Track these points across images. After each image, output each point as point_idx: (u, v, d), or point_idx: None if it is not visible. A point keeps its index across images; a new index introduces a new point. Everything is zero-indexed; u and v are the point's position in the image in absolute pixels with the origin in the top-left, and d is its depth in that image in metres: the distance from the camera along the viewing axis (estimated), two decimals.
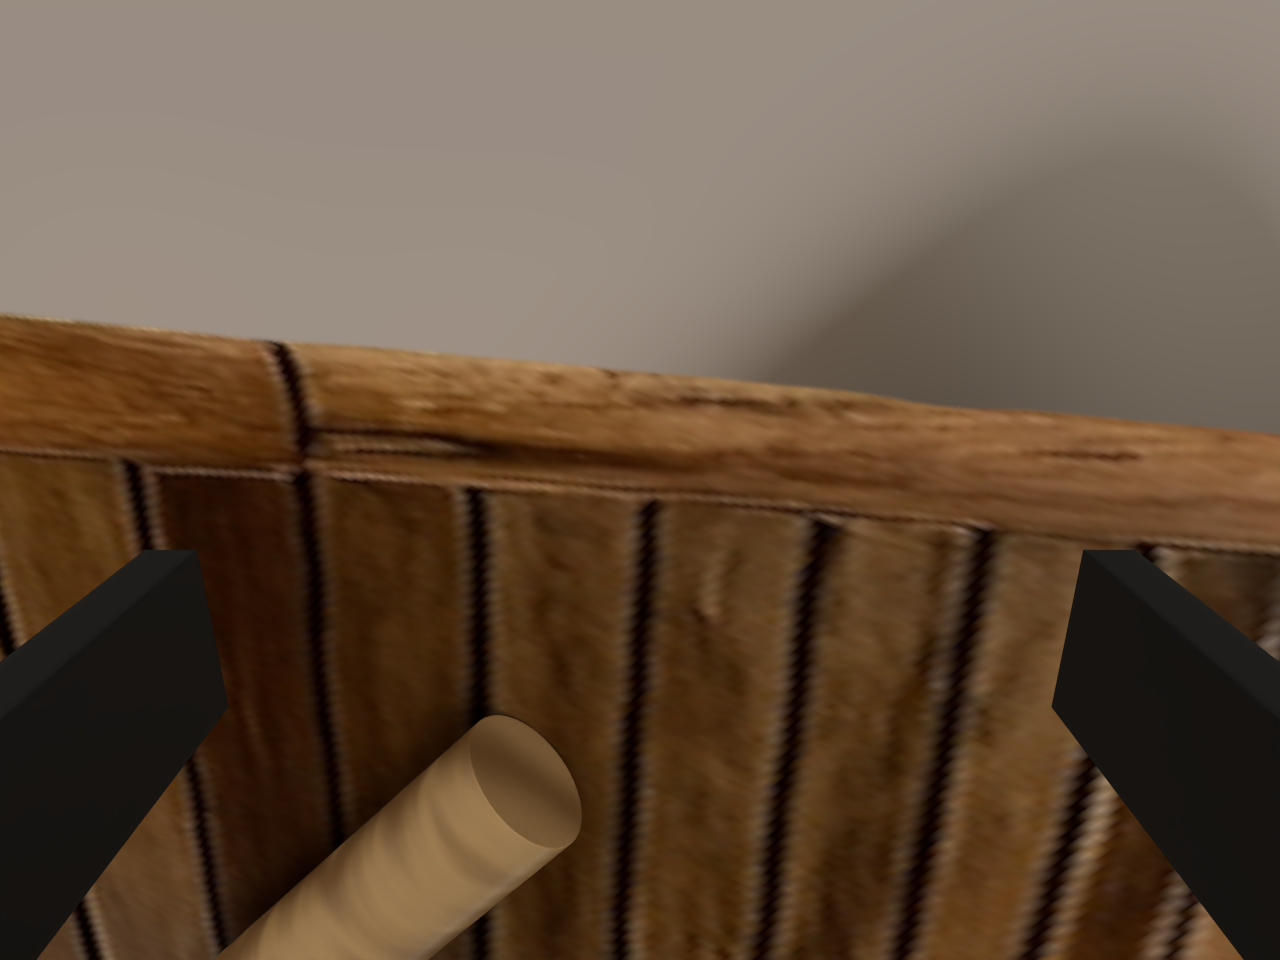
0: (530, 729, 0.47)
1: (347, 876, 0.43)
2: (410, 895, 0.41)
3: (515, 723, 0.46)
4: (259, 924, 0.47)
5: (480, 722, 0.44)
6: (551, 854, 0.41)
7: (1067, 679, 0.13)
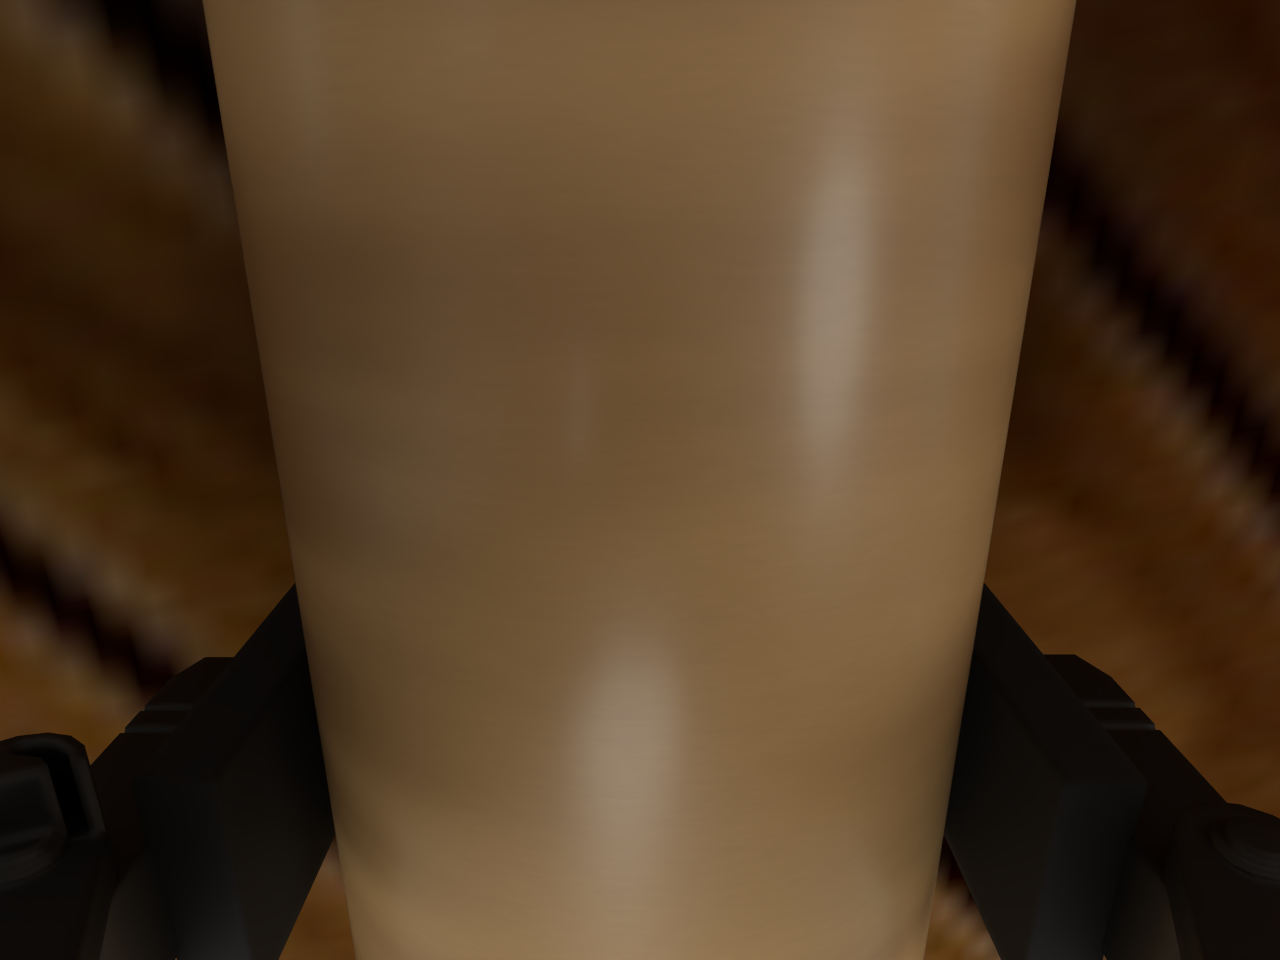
0: None
1: (1026, 289, 0.07)
2: (775, 709, 0.07)
3: None
4: None
5: None
6: None
7: None
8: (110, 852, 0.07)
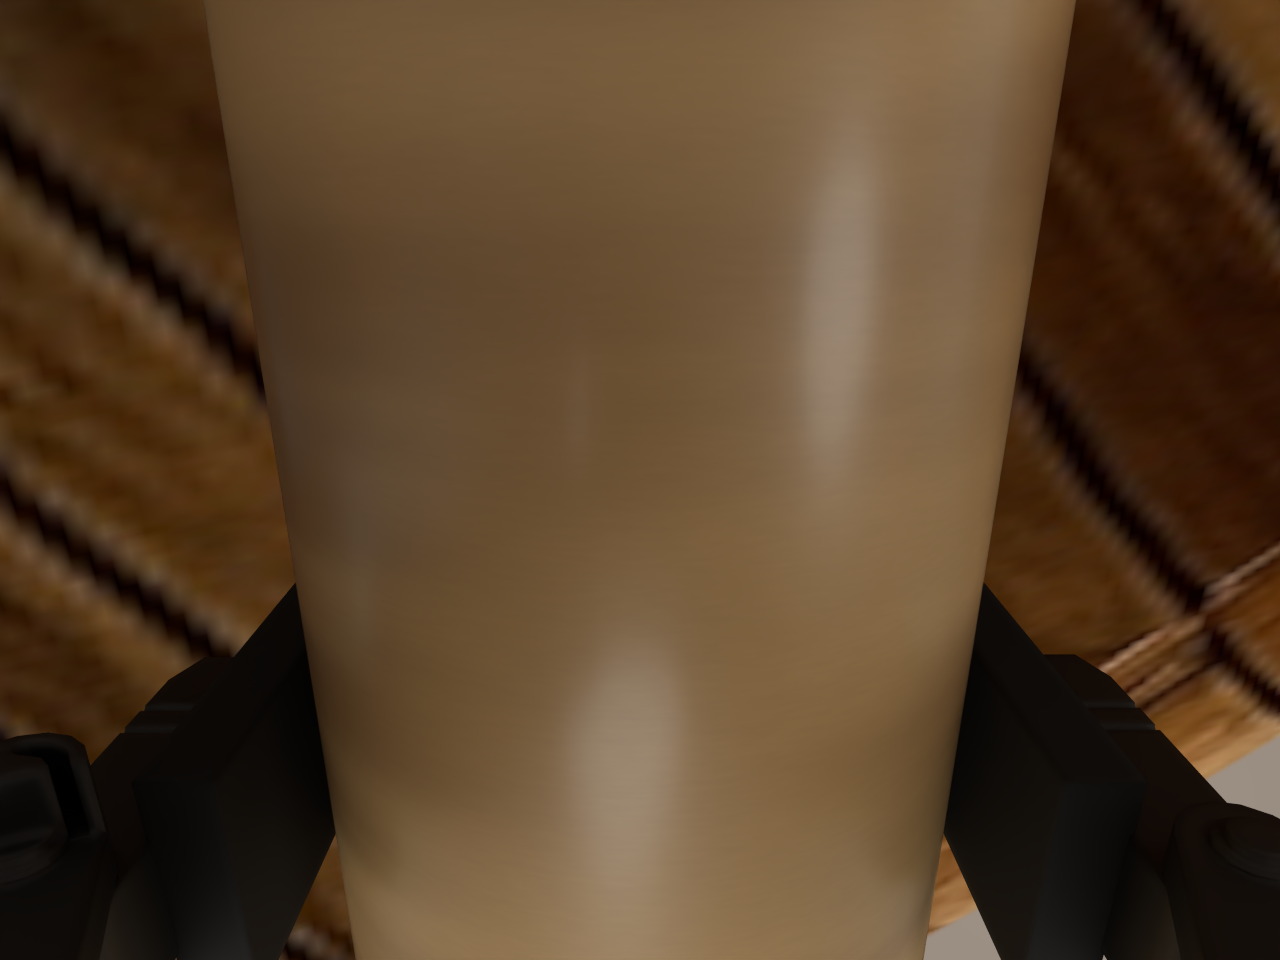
0: None
1: (1026, 290, 0.07)
2: (776, 710, 0.07)
3: None
4: None
5: None
6: None
7: None
8: (111, 852, 0.07)
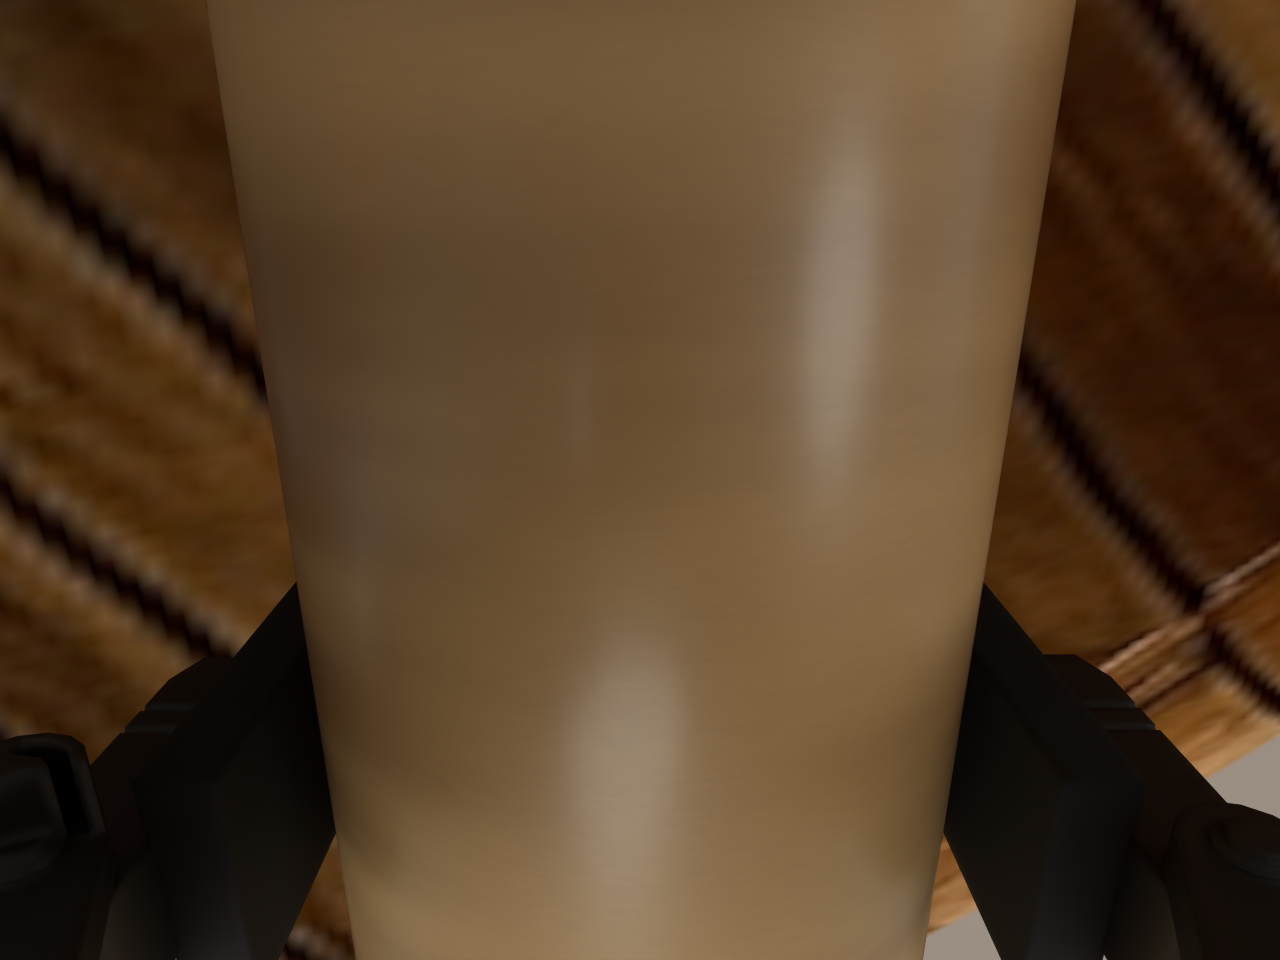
0: None
1: (1026, 290, 0.07)
2: (776, 708, 0.07)
3: None
4: None
5: None
6: None
7: None
8: (110, 852, 0.07)
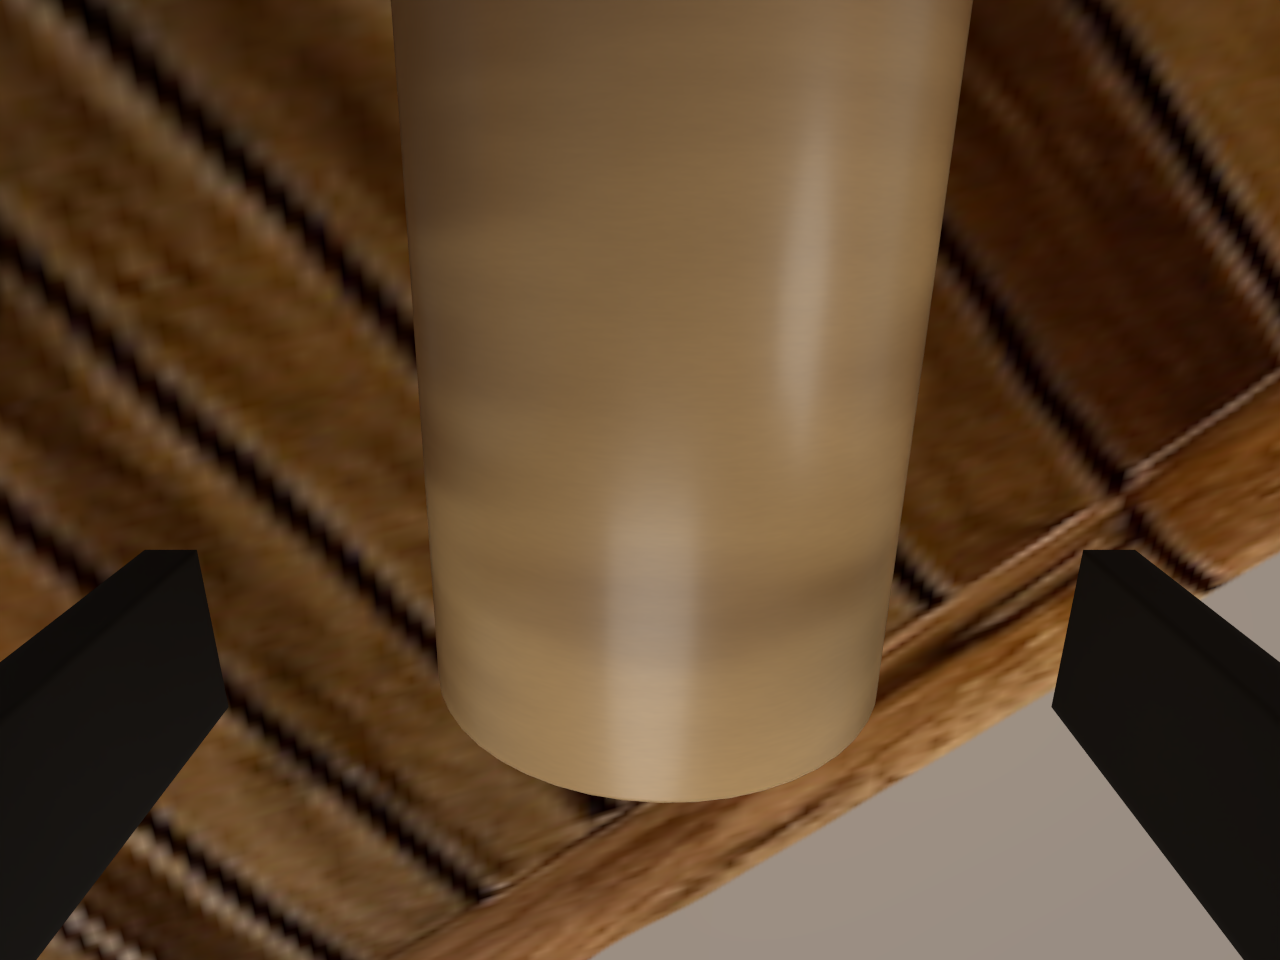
0: None
1: (957, 49, 0.10)
2: (771, 323, 0.10)
3: None
4: None
5: None
6: (487, 725, 0.12)
7: (1067, 679, 0.13)
8: None
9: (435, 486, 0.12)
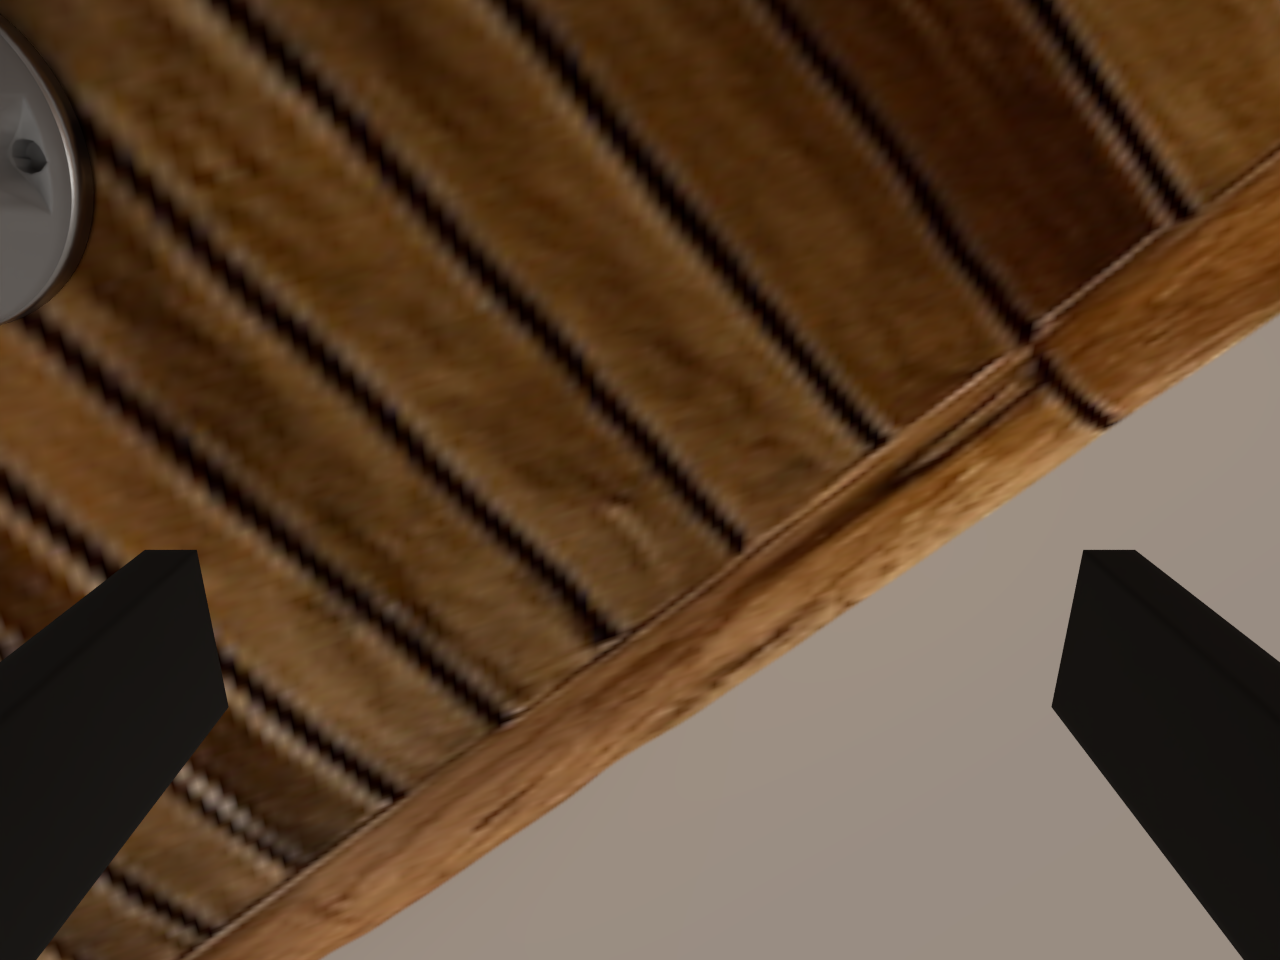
0: None
1: None
2: None
3: None
4: None
5: None
6: None
7: (1067, 679, 0.13)
8: None
9: None
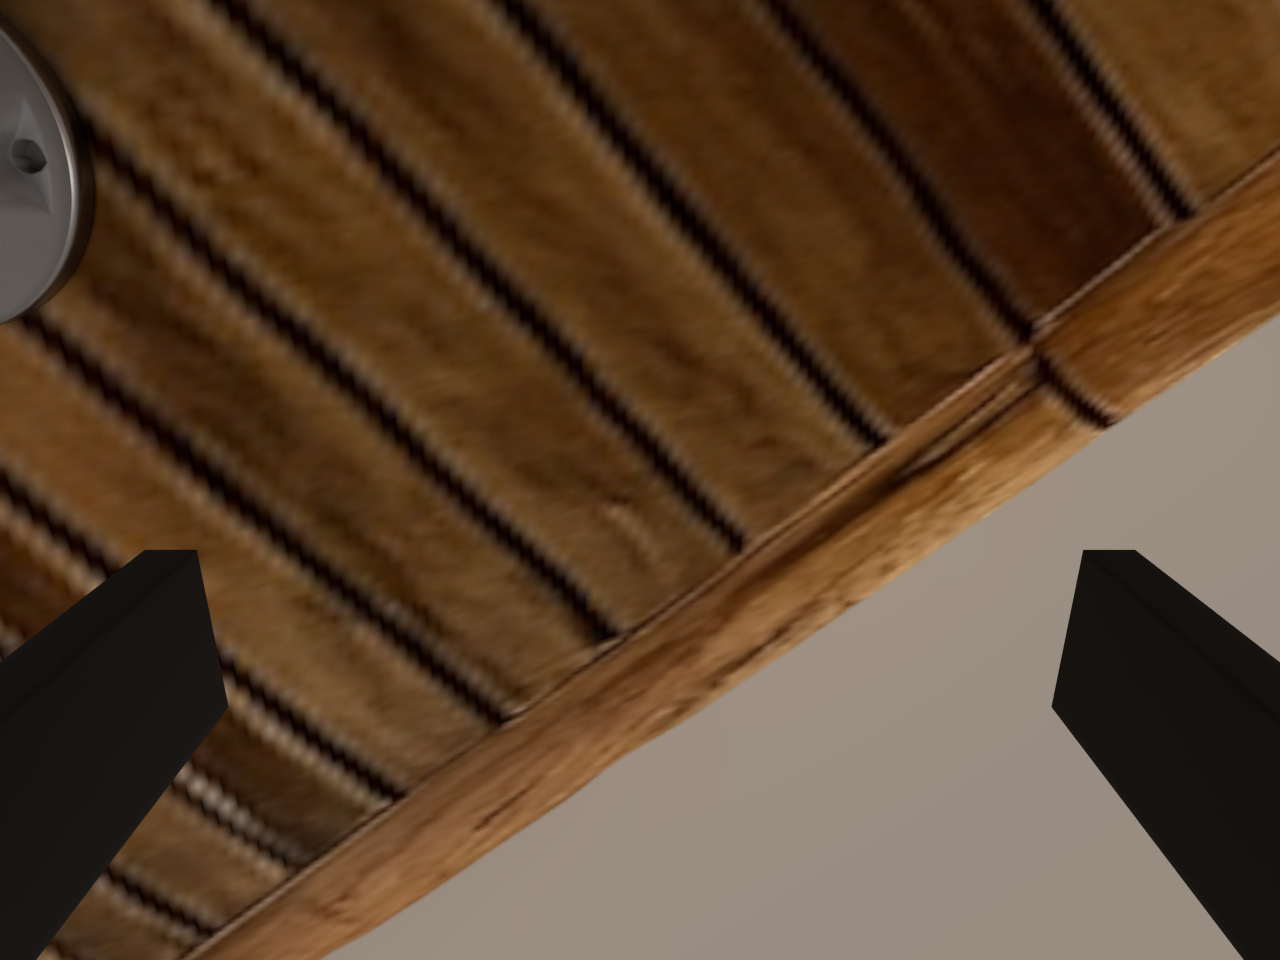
0: None
1: None
2: None
3: None
4: None
5: None
6: None
7: (1067, 679, 0.13)
8: None
9: None
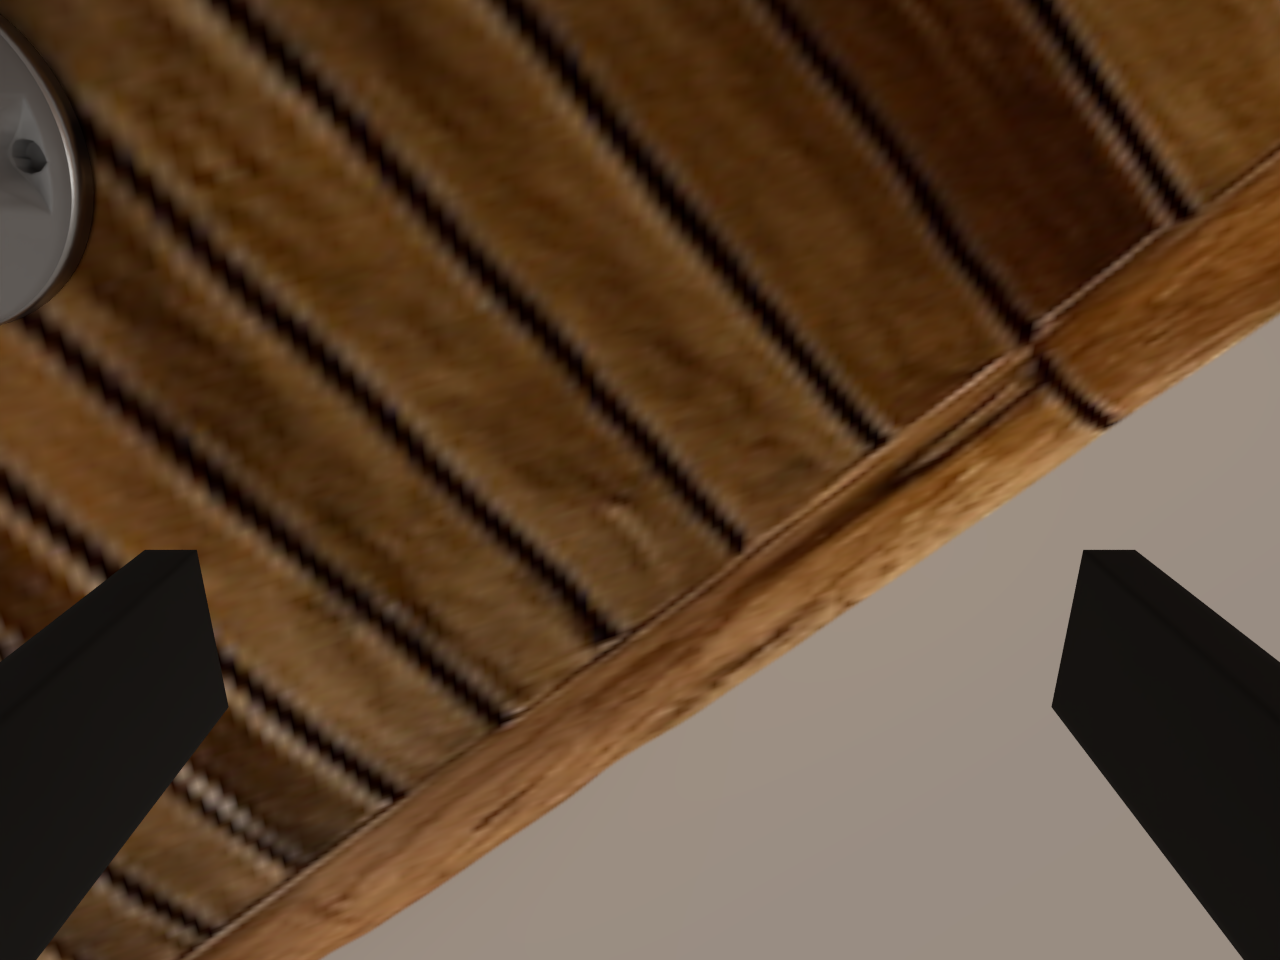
0: None
1: None
2: None
3: None
4: None
5: None
6: None
7: (1067, 679, 0.13)
8: None
9: None
